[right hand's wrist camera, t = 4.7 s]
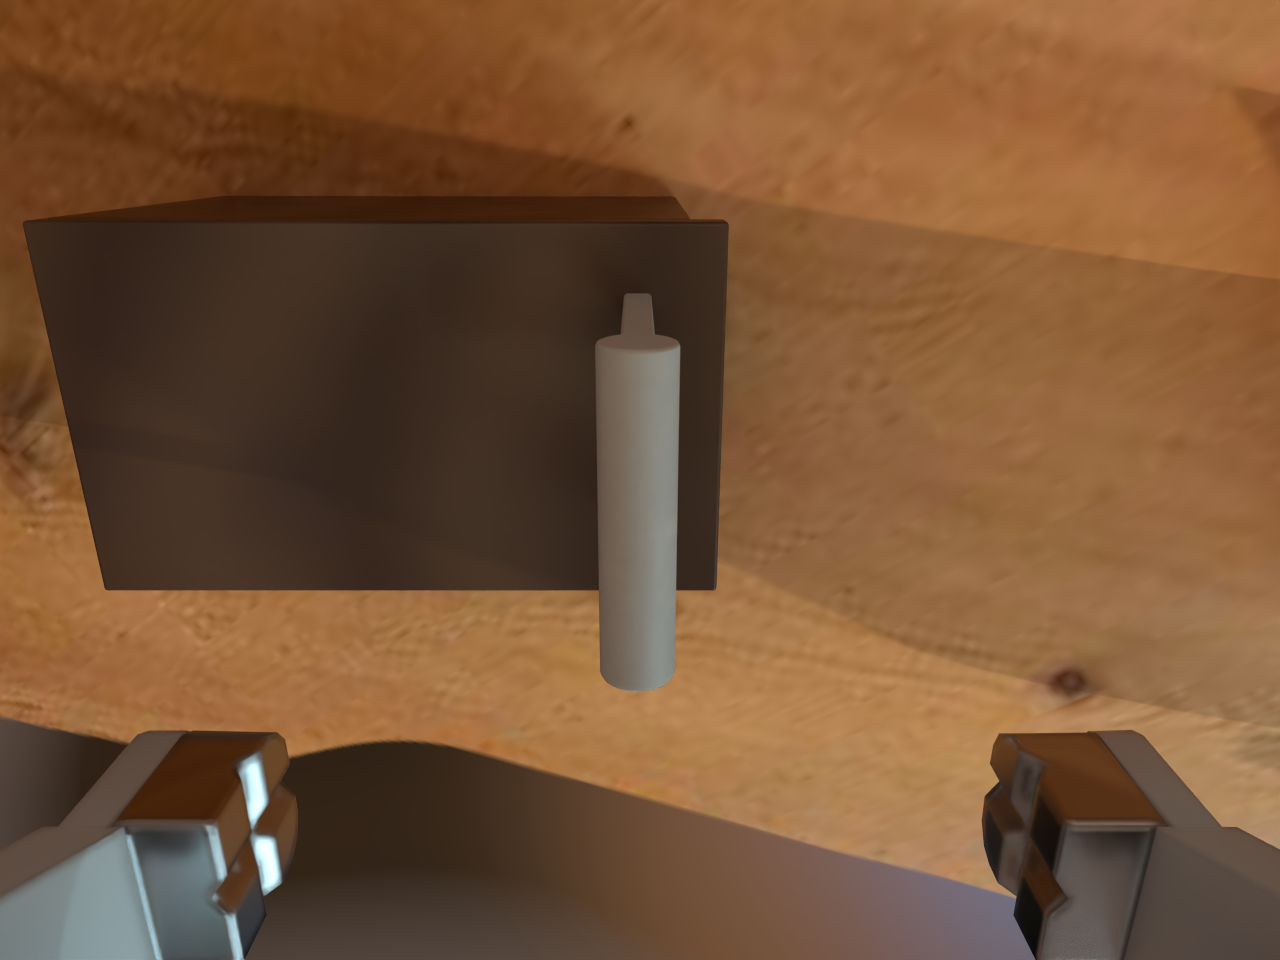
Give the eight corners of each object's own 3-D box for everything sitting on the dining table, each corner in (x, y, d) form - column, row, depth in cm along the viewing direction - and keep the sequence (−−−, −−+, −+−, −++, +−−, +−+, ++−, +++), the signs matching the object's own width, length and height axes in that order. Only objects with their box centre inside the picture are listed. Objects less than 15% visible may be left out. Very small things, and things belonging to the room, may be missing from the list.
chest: (675, 196, 34) (692, 219, 24) (671, 459, 37) (684, 577, 27) (222, 196, 34) (42, 218, 24) (261, 459, 37) (120, 577, 27)
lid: (726, 219, 24) (771, 257, 16) (714, 578, 27) (745, 758, 19) (41, 218, 24) (-266, 256, 16) (119, 578, 27) (-97, 759, 19)
